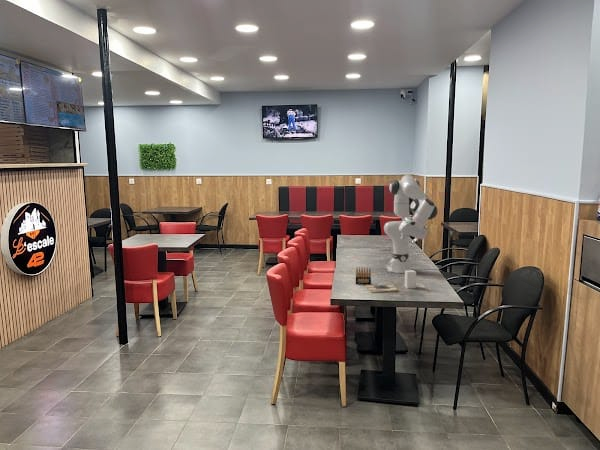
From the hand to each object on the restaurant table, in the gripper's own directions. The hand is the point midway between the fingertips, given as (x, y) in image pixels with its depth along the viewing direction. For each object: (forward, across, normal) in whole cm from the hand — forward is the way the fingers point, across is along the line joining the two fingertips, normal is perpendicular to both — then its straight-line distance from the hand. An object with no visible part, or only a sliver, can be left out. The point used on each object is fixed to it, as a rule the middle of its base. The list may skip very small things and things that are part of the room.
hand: (407, 241), depth 290 cm
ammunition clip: (+43, +6, -10) cm, 45 cm away
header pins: (+35, +2, +4) cm, 35 cm away
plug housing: (+28, -16, +7) cm, 33 cm away
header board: (+36, +2, +4) cm, 36 cm away
